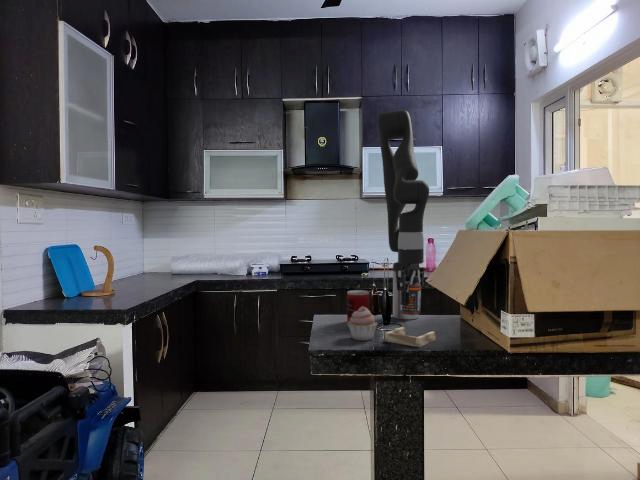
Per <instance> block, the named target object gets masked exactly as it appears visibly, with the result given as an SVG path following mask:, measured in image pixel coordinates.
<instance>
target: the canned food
mask: <svg viewBox="0 0 640 480" xmlns="http://www.w3.org/2000/svg"><path fill="white" fill-rule="evenodd" d="M362 306H363V307H365V308H367V309H368V310H369V311H370V291H369V290H366V289H365V290H364V289H359V290H358V289H355V290H348V291H347V292H346V322H347V323H348V322H350V318H351V316H352V314H353V312H356V311H358V309H359V308H361V307H362Z"/></svg>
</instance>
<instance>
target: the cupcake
mask: <svg viewBox="0 0 640 480" xmlns="http://www.w3.org/2000/svg"><path fill="white" fill-rule="evenodd" d="M346 324H347V326H348V328H349V331H350V335H351V338H352V339H353V340H355V341H361V342H367V341H371V340H373V338H374V335H375V330H376V328H377V326H378V322H376V321H375V316H374V315H373V314H372V313H371V311H370V309H369V310H368V309H367V308H365V307H363V306H362V307H361V308H359V309H358V311H356V312H353V314H352V316H351V318H350V322H348V321H347V323H346Z"/></svg>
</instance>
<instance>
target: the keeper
mask: <svg viewBox="0 0 640 480" xmlns="http://www.w3.org/2000/svg"><path fill="white" fill-rule="evenodd" d="M386 341H387V343H394V344H397V345H398V344H399V345H405V346H411V347H417V348H421V347H423V346H425V345H427V344H430V343H431V342H432V343H433V342H434V341H436V331H433V330H432V331H429V332H427V333H425V334H422V335H419V336H414V335H408V334H406V327H404V326H403V327H402V326H401V327H398V328H395V329H393V330H390V331H386V332H385V333H384V342H386Z"/></svg>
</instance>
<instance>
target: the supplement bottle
mask: <svg viewBox="0 0 640 480" xmlns="http://www.w3.org/2000/svg"><path fill="white" fill-rule="evenodd" d="M407 282H408V281H407ZM406 287H407V285H406ZM408 293H409V305H402V304H401V313H402V314H406V315H417V314H419V315H420V314H421V304H422V303H421V302H422V297H421V296H422V287H421V285H420V284H419V283H418V276H414V278H413V283H412V285H411V286H410V289H409V292H408Z"/></svg>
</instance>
